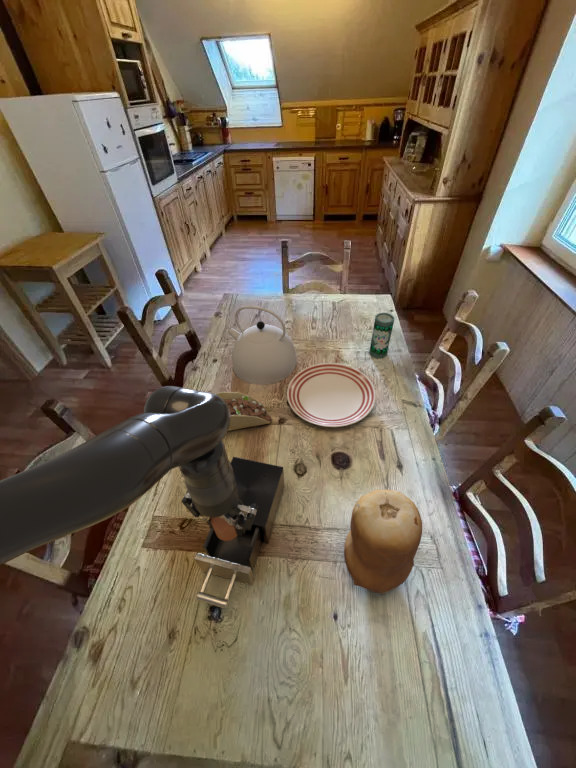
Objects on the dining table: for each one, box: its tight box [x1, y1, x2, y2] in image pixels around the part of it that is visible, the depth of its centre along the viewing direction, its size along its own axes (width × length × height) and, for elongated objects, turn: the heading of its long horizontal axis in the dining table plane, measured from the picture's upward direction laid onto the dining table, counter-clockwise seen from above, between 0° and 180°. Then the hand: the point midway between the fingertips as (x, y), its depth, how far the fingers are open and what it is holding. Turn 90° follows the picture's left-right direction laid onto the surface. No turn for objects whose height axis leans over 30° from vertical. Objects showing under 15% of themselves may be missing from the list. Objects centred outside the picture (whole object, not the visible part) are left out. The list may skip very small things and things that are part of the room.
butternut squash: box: [343, 489, 423, 595], centre depth 64 cm, size 14×13×25 cm
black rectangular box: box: [230, 456, 286, 545], centre depth 80 cm, size 15×13×9 cm
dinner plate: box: [286, 362, 377, 428], centre depth 107 cm, size 28×27×3 cm
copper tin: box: [211, 516, 237, 541], centre depth 65 cm, size 5×5×5 cm
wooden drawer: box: [193, 525, 263, 610], centre depth 71 cm, size 19×11×7 cm, turn 166°
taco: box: [215, 391, 272, 431], centre depth 97 cm, size 10×27×10 cm, turn 101°
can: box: [368, 312, 395, 359], centre depth 118 cm, size 6×6×15 cm
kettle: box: [226, 305, 297, 386], centre depth 114 cm, size 25×23×22 cm
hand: (227, 527), depth 67 cm, fingers closed on copper tin, 5 cm apart
